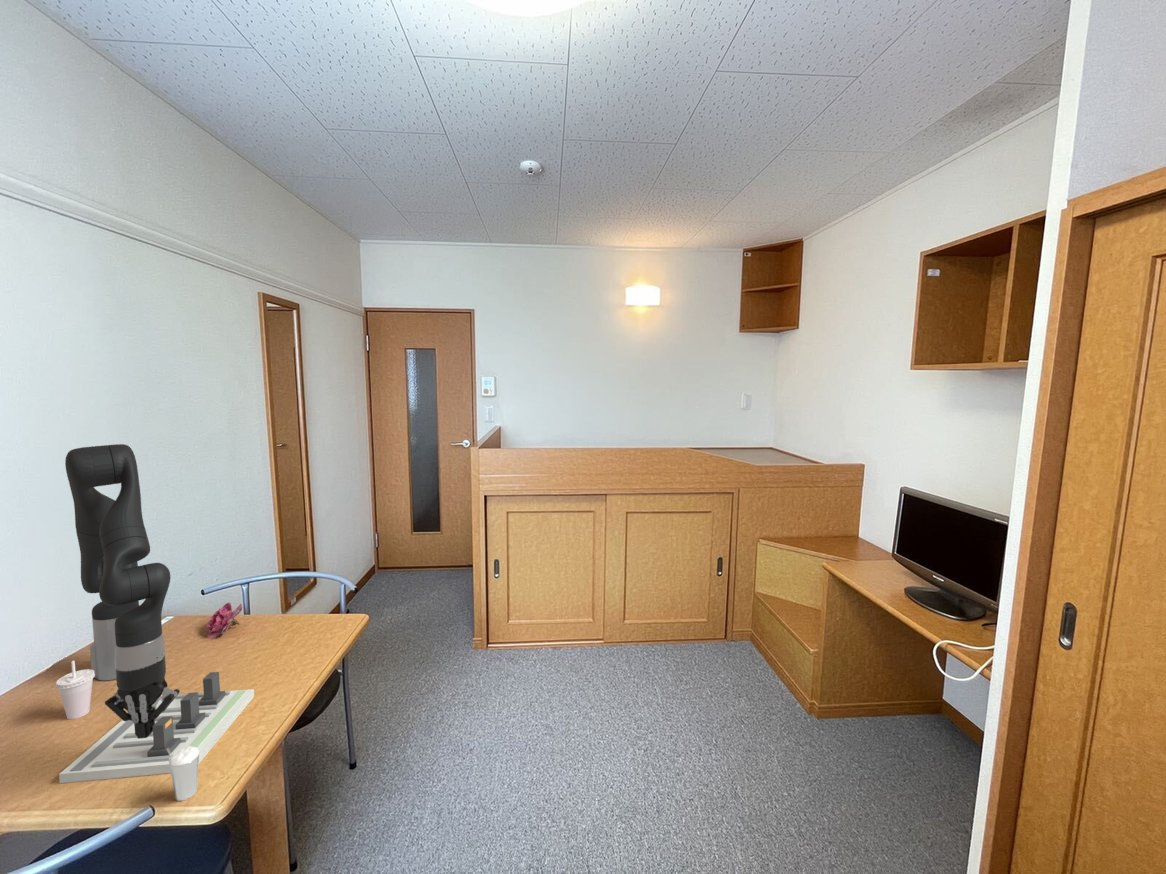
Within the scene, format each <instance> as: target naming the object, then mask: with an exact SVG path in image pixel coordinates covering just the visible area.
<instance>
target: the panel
mask: <svg viewBox="0 0 1166 874" xmlns="http://www.w3.org/2000/svg"><path fill="white" fill-rule="evenodd" d="M220 682H221V681H220V671H211V672H209V673H208V674H207V675H206V676H205V677H204V678H203V679H202V685H203V686H202V688H203V692H197V691H196V692H188V693H181V694H180V693H179V694H178V695H177V696H176V698H175V699H174V700H173V701H172V702H171V704H170V705H169V706H168V707H167V708H166V710H165V711H164V712H162V713H161V714H160V715H159V716H158V717H157V718H156V719H155V723H156V722H157V721H158V720H159V719H160V718H162V717H166V716H173V730H174V738H180V739H181V743H180V744H179V745H178V746H177V747H176V748H175V749H174V750H173V752H172V755H174V754H176V753H177V752H178V751H180V750H181V749H184V748H186V747H188V746H192V747H197V748H198V749H199V762H198V765H200V763H201V762H202V761H203V759H205V757H206V756H207V754H208V753H210V751H211V750H212V748H213V747H214V746H215V745H216V744H217V742H218V741H219V740H220V739H221V737H222V736H223V735H224V734H225V733H226V731H227V730H228V729H229V728H230V727H231V725H232V724H233V723H234V722H235V721H236V719H237V718H238V717H239V716H240V715H241V713H243V711H244V710H245V708H246V707H248V705H249V704H250V702H251V701H252V700H253V699H254V698H255V689H254V688H253V689H252V688H251V689H239V690H238V689H237V690H236V689H235V690H221V689H220V688H221V685H220ZM161 700H162V695H161V696H160V697H159V699H158V704H157V707H156V709H157V708H158V706H159V705H160V704H161V703H162V702H163V701H161ZM153 746H154V741H153V732H152V733H151V734H150V735H149V736H148V737H147V738H140V739H138V738H137V736H136V735H135V726H134V723H133V722H132V721H131V720H128V721H123V720H122V719H121V720H120V721H119V722H118V723H117V724H115V726H113V728H111V729H109V731H107V732H106V733H105V734H104V735H103V736H101V738H99V739H98V740H97V741H96V742H94V744H93V745H91V746H90V747H89V748H88V749H87V750H85V751H84V752H83V753H82V754H81V755H80V756H78V757H77V758H76V759H74V761H73V762H72V763H70V764H69V765H68V766H67V767H66V768H65V769H63V770H62V771H61V772H59V773H58V778H59V784H66V783H67V784H68V783H78V782H89V781H98V780H99V781H100V780H109V779H120V778H131V777H142V776H150V775H151V776H153V775H162V774H163V775H164V774H171V771H170V766H169V760H170V759H171V757H170V755H167V756H156V757H148V756H147V752H148V751H149V750H150V749H151V748H152V747H153Z"/></svg>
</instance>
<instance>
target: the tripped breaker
mask: <svg viewBox="0 0 1166 874" xmlns="http://www.w3.org/2000/svg"><path fill="white" fill-rule="evenodd" d="M153 741H154V746H153V747H152V748H151V749H150V750H149V751H148V752H147V756H148V757H156V756H167V755H169V753H168V752H167V750H166V749H167V748H169V750H170V752H171V753H172V752H173V750H174V749H175V748H176V747H177V746H178V745H179V744H180V743H181V739H180V738H174V730H173V716H166V717H162V718H160V719H159V720H158V721H157V722H156V723H155V724H154V725H153Z"/></svg>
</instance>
